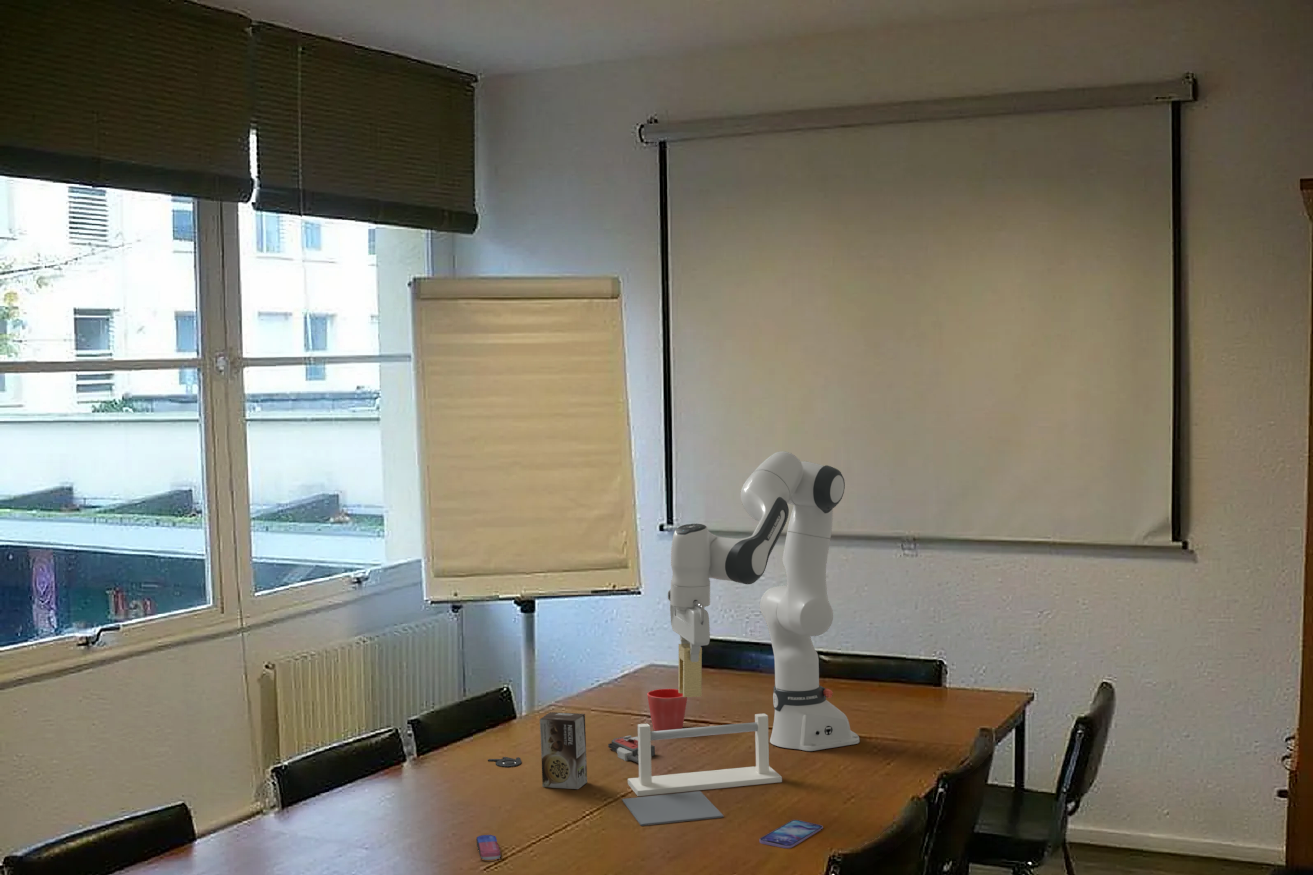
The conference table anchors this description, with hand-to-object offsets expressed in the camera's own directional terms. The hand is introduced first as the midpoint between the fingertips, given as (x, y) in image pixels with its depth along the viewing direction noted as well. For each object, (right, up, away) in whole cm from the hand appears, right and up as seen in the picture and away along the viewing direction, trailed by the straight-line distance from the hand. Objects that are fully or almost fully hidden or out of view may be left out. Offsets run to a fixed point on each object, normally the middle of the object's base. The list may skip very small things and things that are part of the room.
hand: (690, 658), depth 319 cm
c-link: (0, -8, 0) cm, 8 cm away
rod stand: (+4, -30, +8) cm, 31 cm away
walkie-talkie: (-12, -30, +32) cm, 45 cm away
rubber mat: (-4, -31, -10) cm, 33 cm away
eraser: (-41, -34, -34) cm, 63 cm away
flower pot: (-4, -28, +57) cm, 63 cm away
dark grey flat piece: (-46, -31, +31) cm, 64 cm away
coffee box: (-29, -31, +10) cm, 43 cm away
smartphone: (+20, -32, -29) cm, 47 cm away
